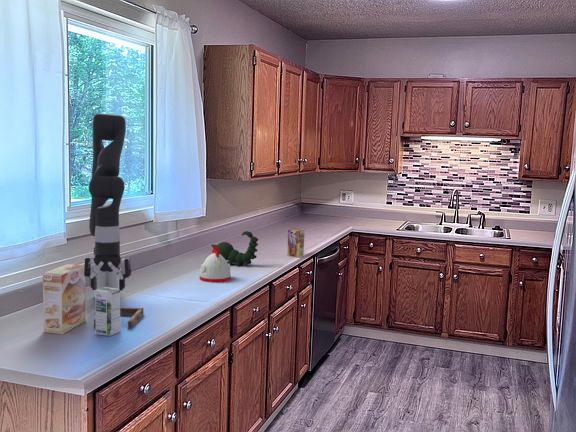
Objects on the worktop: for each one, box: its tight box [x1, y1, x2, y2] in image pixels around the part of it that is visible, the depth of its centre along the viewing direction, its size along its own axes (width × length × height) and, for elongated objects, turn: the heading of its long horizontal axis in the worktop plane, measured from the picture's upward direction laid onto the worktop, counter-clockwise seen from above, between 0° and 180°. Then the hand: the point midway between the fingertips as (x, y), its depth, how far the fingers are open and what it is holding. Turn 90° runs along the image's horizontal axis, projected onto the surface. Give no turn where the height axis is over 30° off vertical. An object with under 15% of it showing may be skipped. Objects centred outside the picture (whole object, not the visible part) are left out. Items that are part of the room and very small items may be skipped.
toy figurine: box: [210, 230, 259, 267], centre depth 302 cm, size 9×19×25 cm
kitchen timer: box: [199, 246, 232, 283], centre depth 270 cm, size 14×14×15 cm
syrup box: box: [94, 287, 121, 337], centre depth 192 cm, size 6×6×14 cm
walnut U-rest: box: [93, 306, 144, 330], centre depth 205 cm, size 16×12×2 cm
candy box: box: [286, 227, 306, 258], centre depth 329 cm, size 9×4×15 cm, turn 48°
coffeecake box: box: [42, 263, 87, 335], centre depth 197 cm, size 15×7×20 cm, turn 170°
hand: (107, 289), depth 191 cm, fingers open, 8 cm apart
